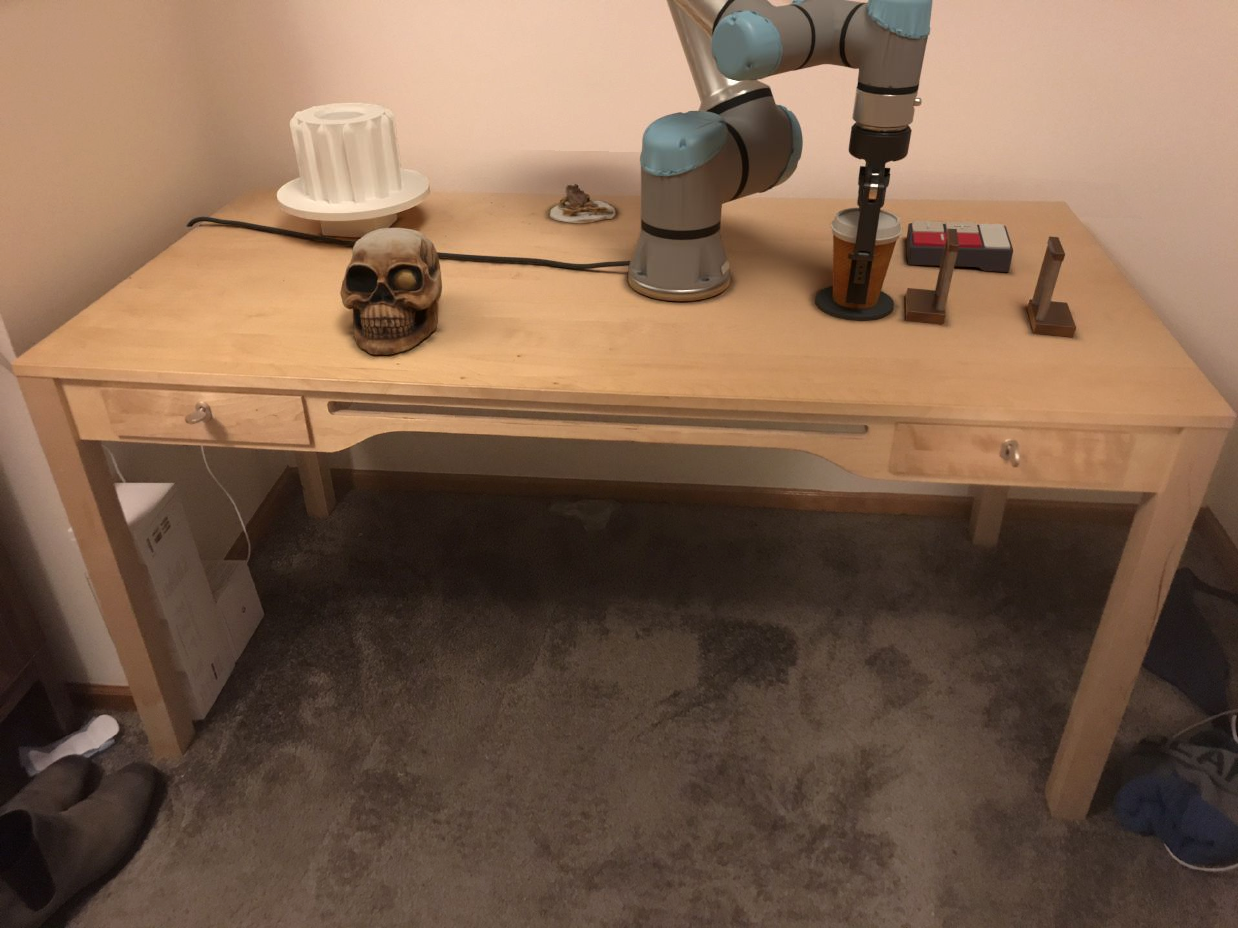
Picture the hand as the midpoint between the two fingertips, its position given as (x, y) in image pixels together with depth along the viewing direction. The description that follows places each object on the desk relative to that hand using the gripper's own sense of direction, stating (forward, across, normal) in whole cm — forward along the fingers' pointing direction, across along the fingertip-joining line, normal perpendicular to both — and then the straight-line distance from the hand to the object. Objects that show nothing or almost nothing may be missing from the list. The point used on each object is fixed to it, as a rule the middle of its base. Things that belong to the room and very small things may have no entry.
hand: (856, 289), depth 128 cm
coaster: (+2, 0, 0) cm, 2 cm away
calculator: (+2, +22, -15) cm, 27 cm away
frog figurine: (+2, +28, +49) cm, 57 cm away
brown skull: (+2, -21, +61) cm, 65 cm away
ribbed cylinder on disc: (+2, +12, +84) cm, 85 cm away
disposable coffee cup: (+2, 0, 0) cm, 2 cm away
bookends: (+2, 0, -18) cm, 18 cm away
